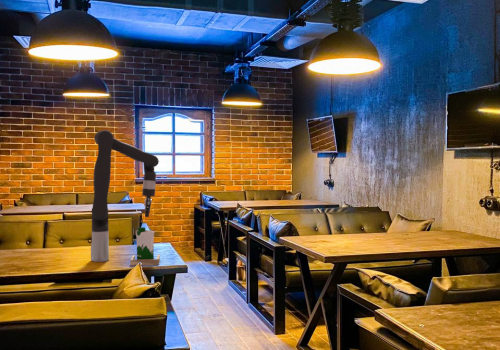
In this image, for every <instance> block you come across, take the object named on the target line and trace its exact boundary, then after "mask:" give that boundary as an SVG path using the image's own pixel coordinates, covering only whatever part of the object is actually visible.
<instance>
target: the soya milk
mask: <svg viewBox="0 0 500 350" xmlns="http://www.w3.org/2000/svg"><path fill="white" fill-rule="evenodd" d="M135 236H136V260H142V259H155V257H154V247H155V245H154V244H155V243H154V236H155V230H149V229H146V227H143V226H142V227H138V228H137V230H135Z"/></svg>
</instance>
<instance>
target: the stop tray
mask: <svg viewBox="0 0 500 350" xmlns="http://www.w3.org/2000/svg"><path fill="white" fill-rule="evenodd" d="M160 261H161V255H160V254H159V253H158V254H157V256H156V258H154V259H142V260H137V259H136V255H135V254H133V255H132V256H131V257H130V259H129V262H130V263H129V265H130V266H132V267H133V266H134V265H137V264H138V263H139V262H141V263H142V265H141V266H159V265H160ZM137 266H138V265H137Z"/></svg>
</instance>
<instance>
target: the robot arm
mask: <svg viewBox="0 0 500 350" xmlns="http://www.w3.org/2000/svg"><path fill="white" fill-rule="evenodd" d="M94 142H95V144H97V148H98V149H97V157H96V161H95V163H94V169H93V204H92V209H91V212H90V213H91V244H90V261H92V262H95V263H99V262H108V261H109V257H110V256H109V253H110V251H109V243H110V242H109V206H108V195H109V189H110V185H111V169H112V168H111V167H112V166H111V165H112V160H111V159H112V152H113V151H115V152H118V153H120V154H122V155H124V156H126V157H128V158H130V159H132V160H134V161H136V162H141V163H143V171H144V172H143V183H142V191H141V192H142V193H141V194H142V195H141V196H144V197H145V198H144V217H145V218H149V216H150V211H151V207H152V202H153V201H152V200H153V199H152V197H156V179H157V173H156V172H155V167H157V166H158V164H159V162H160V161H159V159H158V156H157V155H155V154H151V153H150V152H146V151H143V150H142V149H140V148H138V147H135V146H133V145H131V144H129V143H125V142H122V141H121V140H119V139H116V138H115V137H114V136H113V134H112V132H111V131H110V130H106V129H103V130H99V131H97V132H96V133H95V135H94ZM112 150H113V151H112Z"/></svg>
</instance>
